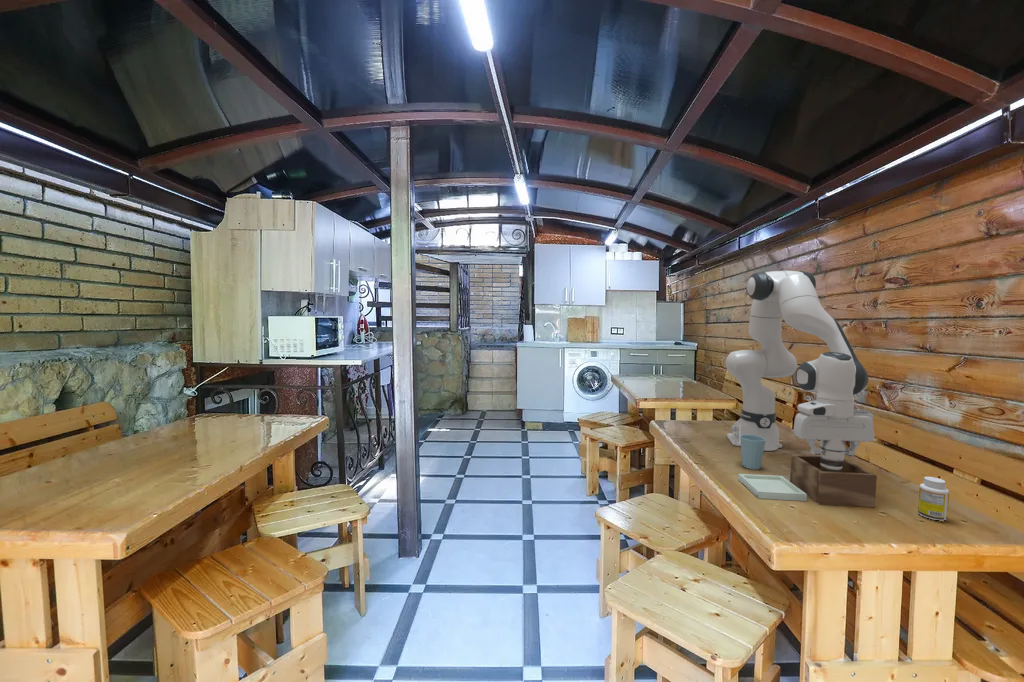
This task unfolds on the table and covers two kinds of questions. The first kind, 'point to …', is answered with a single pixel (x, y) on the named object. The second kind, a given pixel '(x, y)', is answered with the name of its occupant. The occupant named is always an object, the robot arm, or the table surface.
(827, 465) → the plastic bottle
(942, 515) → the supplement bottle
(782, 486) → the tray
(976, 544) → the table surface
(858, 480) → the box
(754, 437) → the cup
